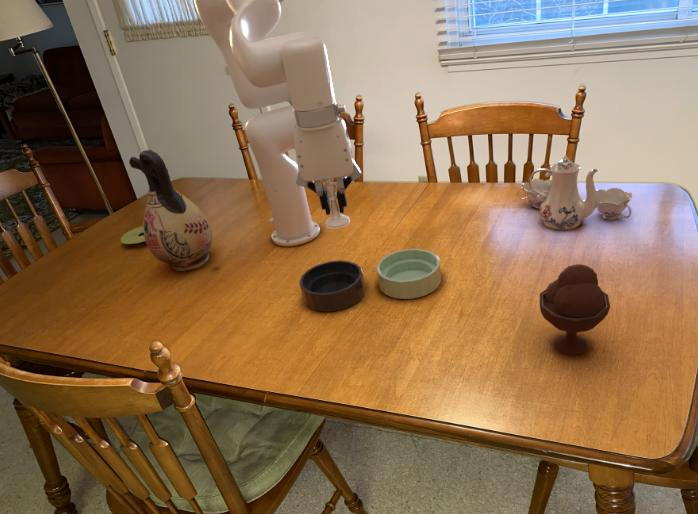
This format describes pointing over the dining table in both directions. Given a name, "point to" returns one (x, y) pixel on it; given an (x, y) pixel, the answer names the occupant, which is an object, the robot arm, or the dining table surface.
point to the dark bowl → (332, 285)
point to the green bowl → (409, 273)
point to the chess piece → (335, 209)
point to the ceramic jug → (172, 218)
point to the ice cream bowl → (574, 307)
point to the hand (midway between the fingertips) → (335, 210)
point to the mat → (134, 236)
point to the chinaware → (572, 197)
